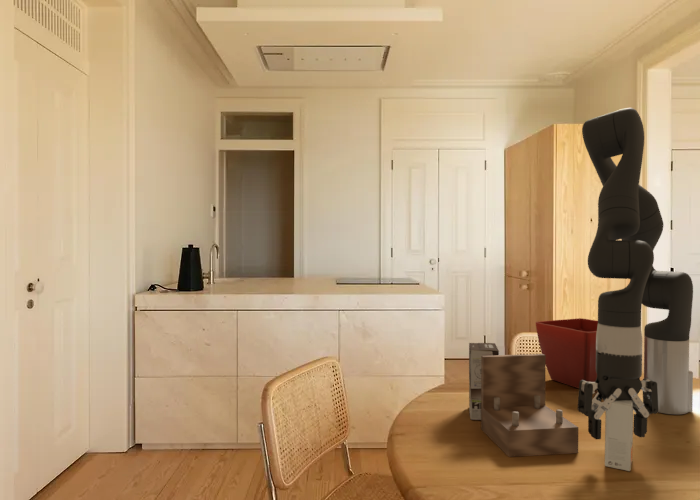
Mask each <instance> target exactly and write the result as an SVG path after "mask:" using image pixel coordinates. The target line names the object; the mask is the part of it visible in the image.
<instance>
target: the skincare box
mask: <svg viewBox="0 0 700 500" xmlns="http://www.w3.org/2000/svg"><path fill="white" fill-rule="evenodd" d="M604 418H605V422H604V423H605V427H604V428H605V431H604V433H605V434H604V466H605V467H609V468H612V469H617V470H622V471H627V472H630V471H631V468H632V462H633V452H634V451H633V448H634V447H633V446H634V445H633V440H634V439H633V438H634V437H633V436H634V435H633V434H634V432H633V425H634V410H633V401H632V400H620V401H614V402H612V403H611V406H610V408H609V409H608V410H606V411H605V417H604Z"/></svg>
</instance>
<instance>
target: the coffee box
mask: <svg viewBox="0 0 700 500" xmlns="http://www.w3.org/2000/svg"><path fill="white" fill-rule="evenodd" d="M499 352H500V351H499V349H498V347H497V344H496V343H495V342H469V343H468V408H469V418H470V420H475V421H481V356H490V355H500V353H499Z"/></svg>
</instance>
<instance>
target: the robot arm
mask: <svg viewBox="0 0 700 500" xmlns="http://www.w3.org/2000/svg"><path fill="white" fill-rule="evenodd" d="M581 134H582V138H583V144H584V147H585V149H586V151H587V153H588V156H589V158H590V160H591V162H592V165H593V167H594V169H595V172H596V174H597V175H598V178H599V180H600V183H601V184H602V188H601V190H600V192H599V196H598V201H597V202H598V203H597V208H598V209H597V211H598V212H597V216H598V217H597V229H596V233H595V236H594V239H593V241H592V244H591V246H590V248H589V252H588V255H587V256H588V257H587V268H588V269H589V271H590V273H591V274H592V275H593V276H595V277H596V278H599V279H618V280H619V279H620V280H621V279H622V280H624V279H625V280H630V281H629V283H628V284H627V285H626V286H625V287H624V288H620V289H617V290H610V291H603V292H602V293H600V294H599V296H598V300H597V321H598V326H597V332H596V373H597V378H596V381H595V382H587V381H585V380H581V381H580V382H579V388H578V395H577V396H578V397H577V411H578V412H579V413H581V414H583V415H584V416H586V417H588V418H587V420H588V421H587V423H588V424H587V425H588V426H587V427H588V428H587V431H588V434H590V436H591V437H592V438H593V439H595V440H601V439H602V419H601V417H602V416H603V415H604V413H606V410H608V409H609V408H610V406H611V403H612V402H614V401H620V400H632V401H633V434H634V435H635V436H637V437H639V438H645V437H646V434H647V432H648V417H650V416H651V415H652V414H654V415H656V414H658V413H659V414H660V413H661V414H666V415H686V414H688V413H691V412H693V400H694V399H693V396H694V395H693V390H694V389H693V386H694V385H693V384H694V382H693V381H694V373H693V371H692V370H690V333H691V327H692V326H691V325H692V312H693V300H694V285H693V284H694V283H693V281H692V278H691V276H690V275H689V274H688V273H687V272H684V271H683V272H682V271H668V270H656V269H655V267H654V261H655V254H654V250H655V248H656V246H657V244H658V242H659V240H660V239H661V236H662V234H663V232H664V231H663V229H664V221H663V217H662V213H661V209H660V207H659V205H658V204H659V203H658V201H657V199H656V198H655V197H654V195H653V194H652V193H651V192H650V191H648V190H647V189H646V188H644V187H643V186H641V185H640V178H641V172H642V165H643V159H644V157H643V156H644V149H645V128H644V124H643V120H642V118H641V116H640V114H639V112H638V111H637V110H636V109H635V108H633V107H625V108H620V109H618V110H615V111H610V112H607V113H605V114H601V115H599V116H596V117H593V118H590V119H588V120H585V121H584V122H583V124H582V129H581ZM620 155H621V157H620V160H619V162H617V164H616V163H615V162H614V161H613V159H612V158H613V157H614V158H615V157H618V156H620ZM642 305H643V306H644V307H646V308H651V309H656V310H657V309H658V310H667V311H668V314H667V317H666V318H665V319H662V320H659V321H655V322H649V323H647V324H645V325H644V330H643V331H644V334H643V333H642ZM643 336H644V337H643ZM643 343H644V344H643ZM643 347H644V348H643ZM643 351H644V352H643ZM643 353H644V354H643ZM642 375H643V379H642V380H641V377H642ZM595 391H596V392H597V393H596V392H595ZM641 391H642V399H641V398H640V396H639V393H640V392H641ZM594 394H595V396H594V397H593V395H594ZM602 400H603V401H602Z"/></svg>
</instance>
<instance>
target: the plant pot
mask: <svg viewBox="0 0 700 500" xmlns="http://www.w3.org/2000/svg"><path fill="white" fill-rule="evenodd" d="M597 326H598V320H594V319H588V318H582V317H581V318H580V317H579V318H565V319H555V320H554V319H553V320H541V321H535V328H536V334H537V339H538V344H539V347H540V351H541V354H544V355H546V361H545V368H546V369H547V373H548V375H549V378H550V379H551V381H555V382H558V383H562V384H565V385H566V386H571V387H573V388H577V389H579V382H580V381H581V380H585V381H587V382H595V381H596V378H597V373H596V332H597Z"/></svg>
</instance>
